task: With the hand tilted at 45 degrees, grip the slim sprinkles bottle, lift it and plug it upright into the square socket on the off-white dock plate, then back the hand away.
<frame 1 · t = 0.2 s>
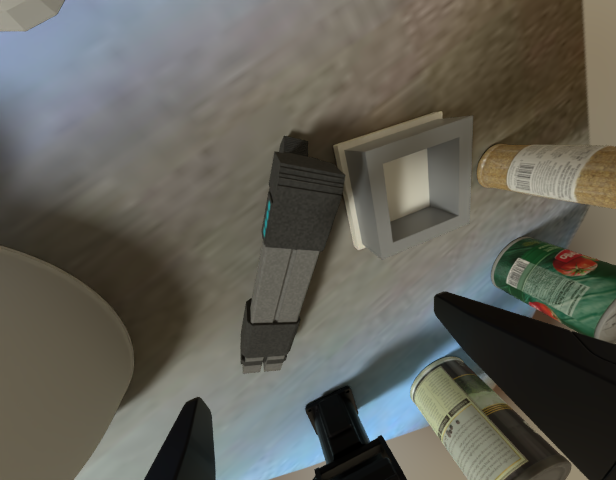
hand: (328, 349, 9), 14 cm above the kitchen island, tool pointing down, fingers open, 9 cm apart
canned tomato: (512, 262, 33), on the kitchen island
gun: (272, 256, 23), on the kitchen island
sprinkles bottle: (489, 165, 26), on the kitchen island
coffee can: (436, 379, 39), on the kitchen island
dock: (391, 183, 23), on the kitchen island
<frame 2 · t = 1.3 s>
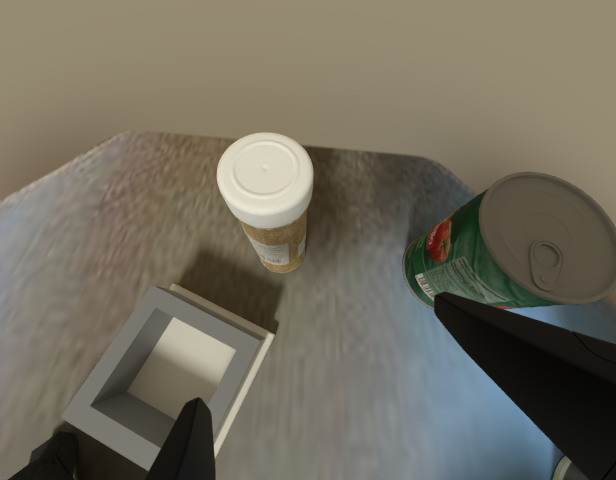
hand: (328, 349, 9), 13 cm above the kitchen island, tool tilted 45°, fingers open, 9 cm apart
canned tomato: (440, 272, 24), on the kitchen island
sprinkles bottle: (281, 251, 24), on the kitchen island
dock: (193, 365, 20), on the kitchen island
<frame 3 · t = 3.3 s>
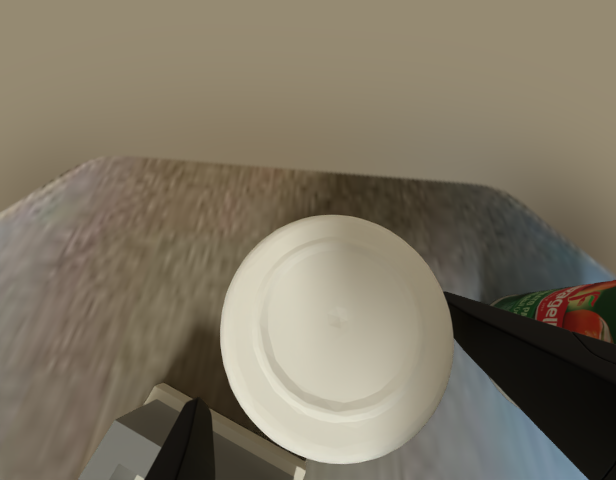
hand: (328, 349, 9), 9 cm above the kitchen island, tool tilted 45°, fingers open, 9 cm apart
canned tomato: (529, 351, 17), on the kitchen island
sprinkles bottle: (308, 325, 17), on the kitchen island
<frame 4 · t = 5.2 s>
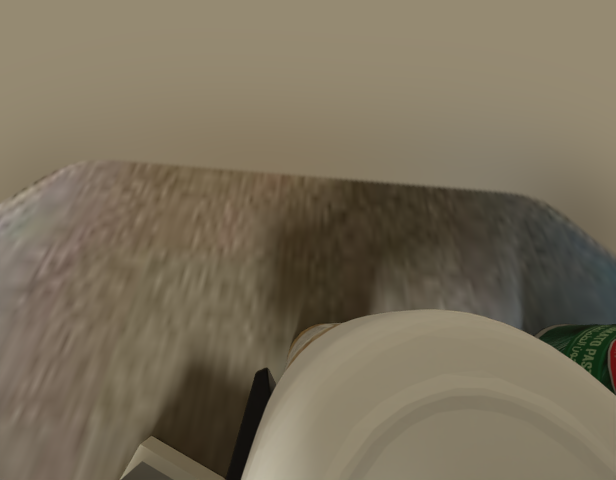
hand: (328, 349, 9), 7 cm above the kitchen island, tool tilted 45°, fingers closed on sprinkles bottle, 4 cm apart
canned tomato: (582, 393, 15), on the kitchen island
sprinkles bottle: (323, 362, 15), on the kitchen island, touching gripper
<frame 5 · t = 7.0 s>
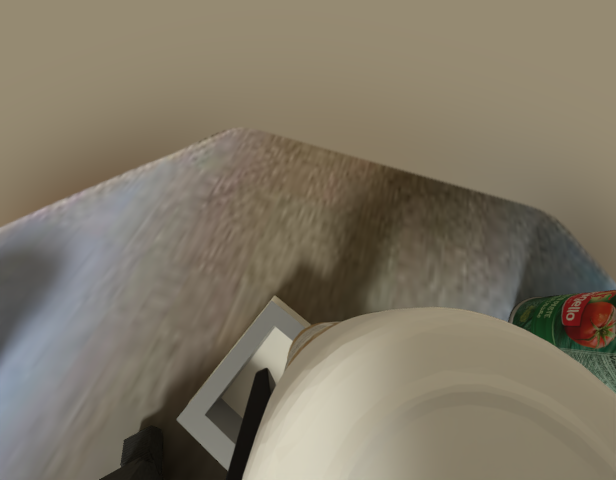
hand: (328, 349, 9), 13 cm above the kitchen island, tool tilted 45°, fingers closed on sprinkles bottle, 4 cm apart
canned tomato: (548, 341, 22), on the kitchen island
sprinkles bottle: (323, 361, 15), point 6 cm above the kitchen island, touching gripper
dock: (283, 384, 20), on the kitchen island
when the fingers open (9 cm above the kitchen island, at t = 9.1 s): sprinkles bottle drops 1 cm, resting on dock.
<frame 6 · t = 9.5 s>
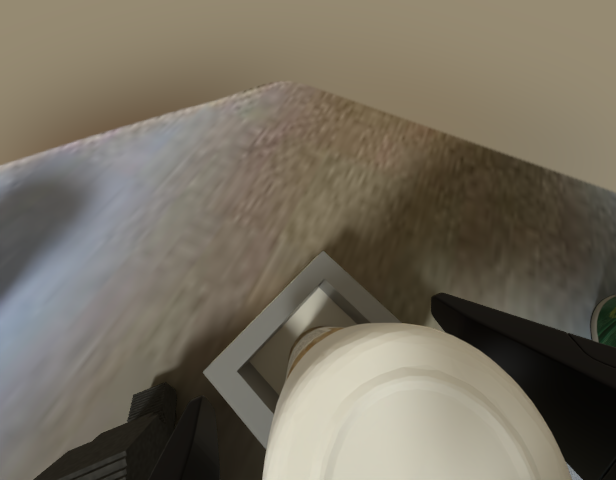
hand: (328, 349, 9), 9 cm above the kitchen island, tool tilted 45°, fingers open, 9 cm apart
sprinkles bottle: (321, 361, 16), point 1 cm above the kitchen island, touching dock
dock: (320, 357, 17), on the kitchen island
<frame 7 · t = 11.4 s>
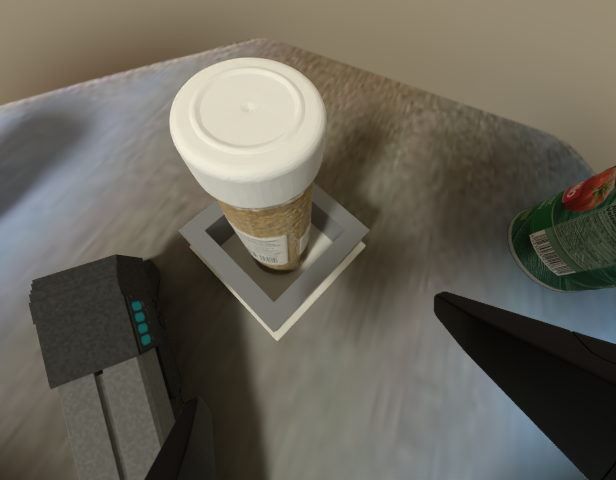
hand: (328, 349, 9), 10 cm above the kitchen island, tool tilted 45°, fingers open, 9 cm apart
canned tomato: (548, 248, 22), on the kitchen island
gun: (173, 408, 17), on the kitchen island
sprinkles bottle: (279, 248, 20), point 1 cm above the kitchen island, touching dock
dock: (280, 249, 20), on the kitchen island
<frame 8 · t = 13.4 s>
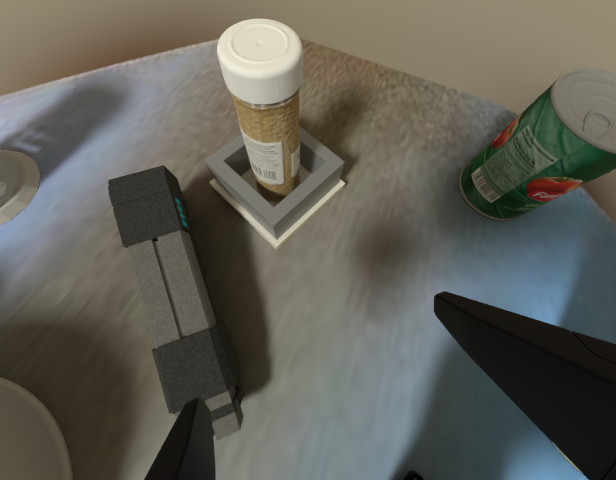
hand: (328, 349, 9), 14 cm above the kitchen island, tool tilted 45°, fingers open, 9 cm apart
canned tomato: (491, 190, 28), on the kitchen island
gun: (198, 295, 23), on the kitchen island
sprinkles bottle: (278, 185, 26), point 1 cm above the kitchen island, touching dock
dock: (278, 187, 26), on the kitchen island
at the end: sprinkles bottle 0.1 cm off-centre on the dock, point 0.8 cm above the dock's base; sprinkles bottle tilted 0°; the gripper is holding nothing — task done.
